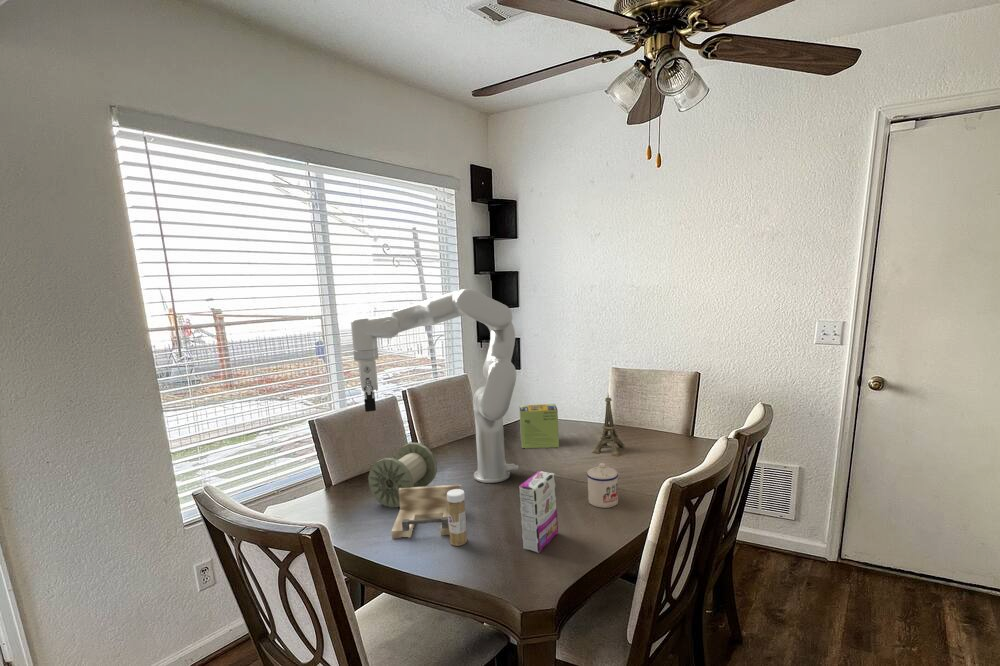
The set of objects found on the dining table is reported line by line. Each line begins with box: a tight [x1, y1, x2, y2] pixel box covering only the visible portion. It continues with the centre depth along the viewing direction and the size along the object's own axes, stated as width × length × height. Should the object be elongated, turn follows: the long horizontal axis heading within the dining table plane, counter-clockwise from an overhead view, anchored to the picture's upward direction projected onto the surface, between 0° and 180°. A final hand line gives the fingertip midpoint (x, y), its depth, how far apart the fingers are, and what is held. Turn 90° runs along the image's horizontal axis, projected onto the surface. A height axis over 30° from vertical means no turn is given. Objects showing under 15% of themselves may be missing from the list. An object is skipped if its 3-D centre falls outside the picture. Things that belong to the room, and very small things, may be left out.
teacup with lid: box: [586, 462, 619, 509], centre depth 144 cm, size 12×9×12 cm
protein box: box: [518, 403, 560, 449], centre depth 200 cm, size 10×15×16 cm
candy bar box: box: [518, 470, 559, 554], centre depth 123 cm, size 11×5×16 cm, turn 148°
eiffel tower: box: [591, 394, 628, 458], centre depth 187 cm, size 11×11×25 cm
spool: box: [367, 442, 438, 509], centre depth 155 cm, size 16×15×15 cm
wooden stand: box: [390, 484, 462, 539], centre depth 135 cm, size 18×14×8 cm
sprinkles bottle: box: [447, 488, 468, 547], centre depth 124 cm, size 5×5×14 cm
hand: (370, 407), depth 156 cm, fingers open, 9 cm apart
